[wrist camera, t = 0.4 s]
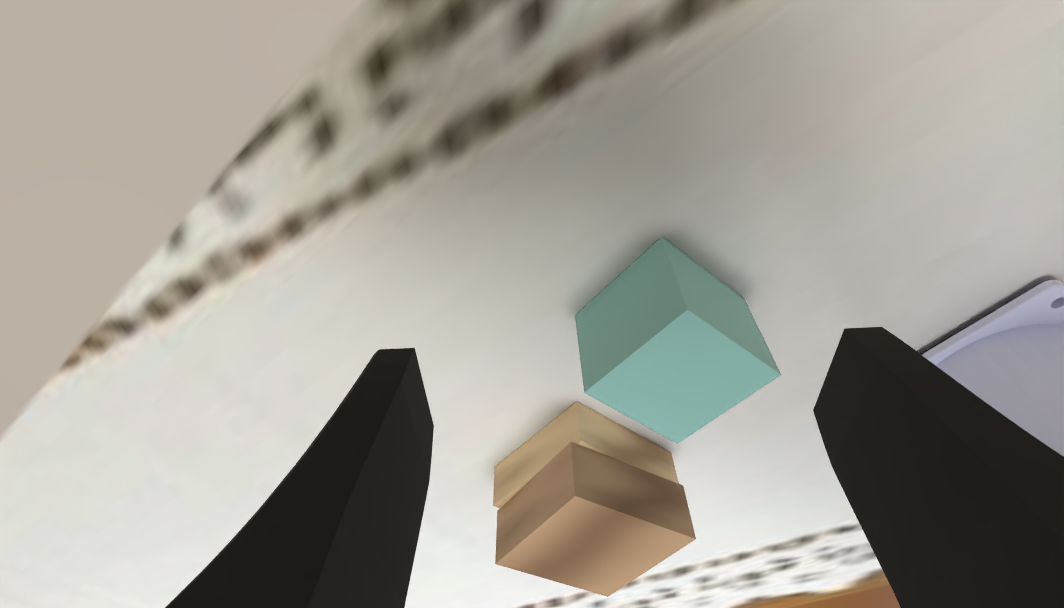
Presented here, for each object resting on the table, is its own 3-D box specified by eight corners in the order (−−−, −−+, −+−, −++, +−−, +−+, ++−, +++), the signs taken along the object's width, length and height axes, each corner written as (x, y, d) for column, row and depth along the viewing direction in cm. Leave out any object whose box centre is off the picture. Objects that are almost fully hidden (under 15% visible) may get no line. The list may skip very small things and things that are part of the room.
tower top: (683, 485, 26) (695, 539, 24) (602, 545, 29) (608, 596, 27) (570, 441, 24) (575, 496, 22) (497, 510, 27) (495, 563, 25)
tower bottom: (669, 445, 28) (680, 491, 26) (585, 500, 31) (590, 545, 29) (576, 394, 26) (580, 440, 24) (495, 459, 29) (493, 505, 27)
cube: (743, 297, 22) (781, 374, 19) (656, 364, 24) (677, 444, 21) (661, 234, 20) (687, 309, 17) (574, 313, 22) (584, 392, 19)
